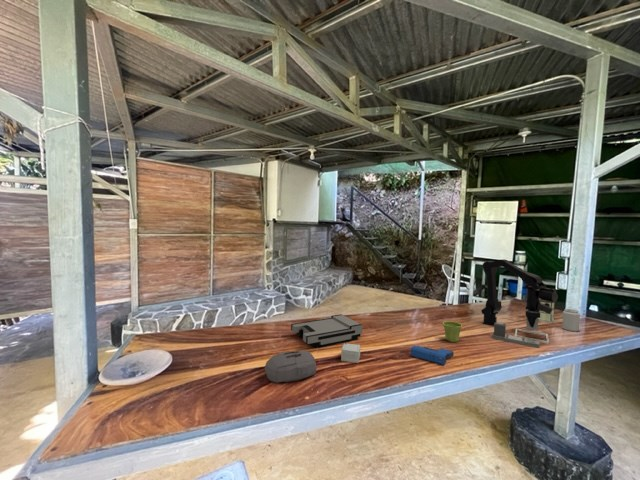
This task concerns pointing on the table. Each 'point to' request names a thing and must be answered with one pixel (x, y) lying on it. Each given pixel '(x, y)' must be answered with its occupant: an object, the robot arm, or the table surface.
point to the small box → (350, 353)
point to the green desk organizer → (543, 315)
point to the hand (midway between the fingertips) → (531, 325)
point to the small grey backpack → (290, 366)
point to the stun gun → (431, 354)
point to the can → (571, 320)
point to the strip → (518, 340)
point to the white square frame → (533, 333)
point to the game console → (328, 331)
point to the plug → (534, 325)
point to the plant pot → (452, 330)
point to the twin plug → (499, 329)
